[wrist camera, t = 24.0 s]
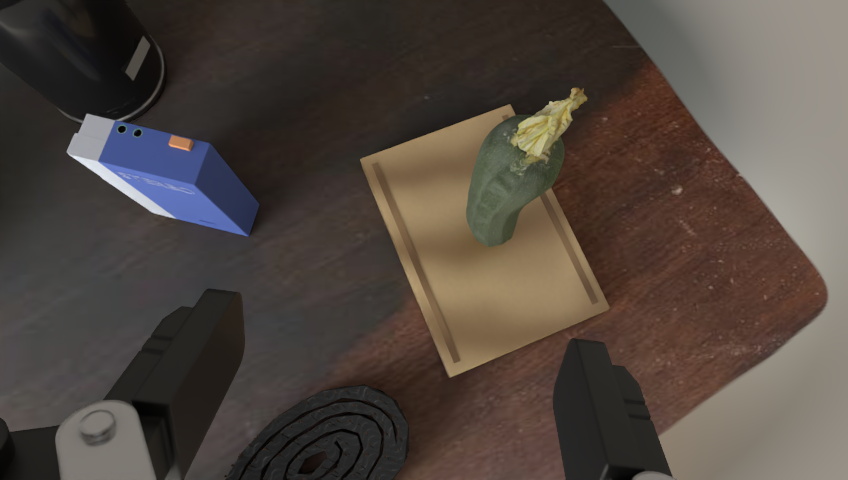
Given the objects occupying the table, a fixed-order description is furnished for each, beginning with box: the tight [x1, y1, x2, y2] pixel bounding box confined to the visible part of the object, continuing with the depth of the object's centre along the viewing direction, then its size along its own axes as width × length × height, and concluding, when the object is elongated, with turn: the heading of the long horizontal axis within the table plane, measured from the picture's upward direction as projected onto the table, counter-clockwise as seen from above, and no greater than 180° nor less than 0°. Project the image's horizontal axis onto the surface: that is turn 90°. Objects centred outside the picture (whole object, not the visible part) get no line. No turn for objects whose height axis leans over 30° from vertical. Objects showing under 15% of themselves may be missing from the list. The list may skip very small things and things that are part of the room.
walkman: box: [67, 114, 259, 236], centre depth 38 cm, size 8×3×12 cm, turn 76°
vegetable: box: [466, 88, 587, 247], centre depth 33 cm, size 4×4×20 cm
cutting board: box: [360, 104, 610, 378], centre depth 43 cm, size 18×13×2 cm
